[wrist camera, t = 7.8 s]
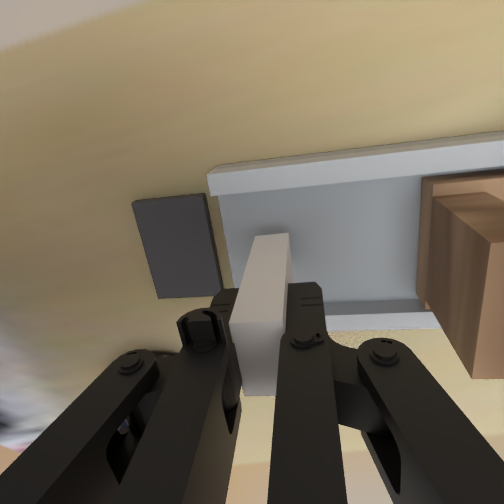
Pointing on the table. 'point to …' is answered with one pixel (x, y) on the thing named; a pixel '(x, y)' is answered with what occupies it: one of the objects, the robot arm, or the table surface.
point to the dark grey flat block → (179, 245)
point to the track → (348, 221)
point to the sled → (465, 265)
